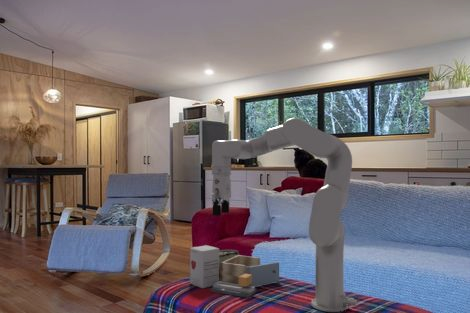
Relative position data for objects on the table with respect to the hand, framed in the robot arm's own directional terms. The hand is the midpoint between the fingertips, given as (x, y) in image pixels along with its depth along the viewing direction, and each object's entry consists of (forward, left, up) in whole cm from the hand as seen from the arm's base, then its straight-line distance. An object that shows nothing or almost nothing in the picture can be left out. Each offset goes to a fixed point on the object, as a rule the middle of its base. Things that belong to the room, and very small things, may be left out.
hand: (221, 214), depth 157 cm
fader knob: (-11, +1, -28) cm, 30 cm away
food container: (+10, -21, -30) cm, 38 cm away
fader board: (-6, +1, -30) cm, 30 cm away
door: (-14, -12, -29) cm, 34 cm away
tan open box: (-3, -13, -30) cm, 32 cm away
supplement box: (+9, -2, -30) cm, 31 cm away
